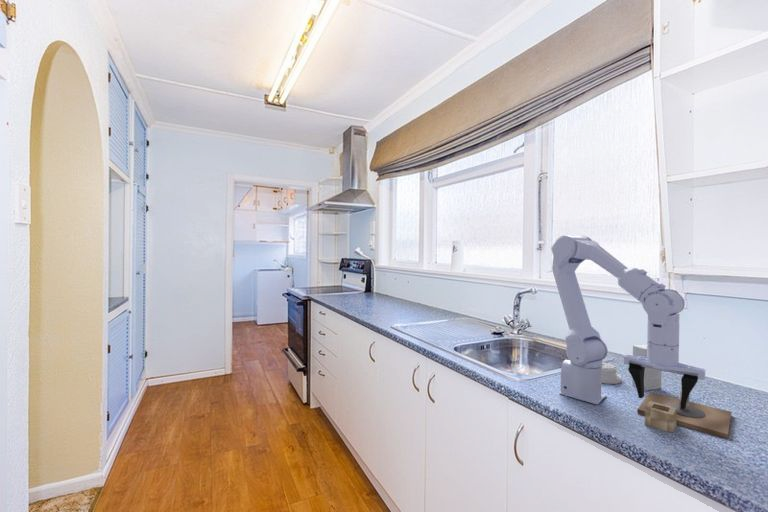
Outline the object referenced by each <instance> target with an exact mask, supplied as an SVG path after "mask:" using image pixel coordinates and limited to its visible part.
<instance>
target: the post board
mask: <svg viewBox="0 0 768 512" xmlns="http://www.w3.org/2000/svg"><path fill="white" fill-rule="evenodd" d="M681 397H682V390H680V391H679V398H677V397H673V396H668V395H665V394H660V393H655V392H652V391H649V393H648V394H647V395H646V397H645V399H644V400H643V401H642V402H641V404H640V405H639V406H638V408H637V414H639V415H642V416H645V407H646V406H647V404H648V403H649V401H652V402H656V403H660V404H664V405H667V406H671V407H675V408H677V414H676V426H677V425H678V426H681V427H685V428H687V429H688V428H689V429H692V430H695V431H698V432H702V433H705V434H706V433H707V434H709V435H712V436H716V437H720V438H724V439H726V440H727V439H728V438H729V431H730V426H731V420H732V411H729V410H725V409H721V408H718V407H714V406H710V405H704V404H702V403H697V402H693V401H690V395H689V396H688V399H687V403H686V408H685V409H681Z"/></svg>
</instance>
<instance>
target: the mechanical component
mask: <svg viewBox="0 0 768 512" xmlns="http://www.w3.org/2000/svg"><path fill="white" fill-rule="evenodd" d="M617 368H618V367H617V366H615V365H614V364H612V363H609V362H603V361H602V380H601V384H607V385H615V384H616V385H617V384H620V383H621V382H622V376H621V375H620V374H618V372H617V371H618V370H617Z"/></svg>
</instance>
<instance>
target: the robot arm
mask: <svg viewBox="0 0 768 512" xmlns="http://www.w3.org/2000/svg"><path fill="white" fill-rule="evenodd" d="M551 252H552V255H553V257H552V266H551V268H552V269H551V270H552V273H553V277H554V280H555V283H556V287H557V291H558V294H559V297H560V301H561V304H562V309H563V311H564V315H565V319H566V322H567V325H568V329H569V331H568V332H567V334H566V336H565V338H564V339H565V342H566V344H565V345H566V347H565V354H566V356H567V359H565V360H563V361H562V363H561V368H560V391H559V394H560V395H562V396H566V397H570V398H571V399H572V398H573V399H576V400H579V401H583V402H587V403H591V404H593V405H599V404H600V403H601V402H602V401H603V400H604V399H606V397H607V394H606V393H602V383H601V380H602V362H603V360H605V358H607V356H608V347H607V345H606V343H605V342H604V341H603V339H602V338H601V335H600V332H599V331H597V329H595V328H594V327H593V326H592V323H591V320H590V318H589V315H588V311H587V307H586V304H585V302H584V298H583V295H582V294H583V293H582V290H581V287H580V285H579V280H578V278H577V276H576V275H577V274H576V271H577V269H578V268H579V266H580V264H582V263H583V262H584V261H586V260H588V261H591V262H593V263H595V264H596V265H598V266H599V267H600V268H602V269H603V270H605V271H606V272H608V273H609V274H611V275H612V276H614V277H615V278H617V283H618V286H619V287H620V288H621V289H623V291H625V292H626V293H627V294H629V295H631V296H632V297H633V298H634V299H636V300H637V301H638V302H639V303H641V305H642V308H643V309H644V312H645V313H646V314H647V335H646V337H647V340H646V344H647V357H641V356H633V354H631V355H630V354H625V355H624V356H623V365H628V367H627V370H628V372H629V374H630V375H631V378H632V381H633V380H634V382H635V385H636V390H637V391H636V392H637V395H638V396H637V397H638V398H639V399H643V398H644V397H645V390H644V371H645V367H646V368H651V369H656V370H661V372H667V373H672V374H676V375H682V377H681V379H680V381H681V382H680V383H681V391H682V397H681V409H685V408H686V403H687V399H688V396H689V397H690V394H691V392H692V391H693V389H694V387H696V384H698V381H699V380H700V381H701V380H702V381H705V379H706V368H701V367H696V366H693V365H689V364H685V363H681V362H679V359H680V357H679V356H680V313H681V312H683V310H684V309H685V305H686V304H685V299H684V297H683V296H682V295H681V294H680V293H679V292H678V291H677V290H676V289H670V288H666V287H667V286H666V285H665V284H664V283H658V282H657V281H656V280H655V279H653V278H651V277H650V276H649V275H648V272H647V271H646V270H644V269H643V268H642V269H639V268H636V267H633V268H629V267H627V266H626V265H625V264H624V263H622V262H621V261H620V260H618V259H617V258H616V257H615V256H614V255H612V254H611V253H610V252H609V251H607V250H606V249H605V248H603V247H602V246H601V245H600V243H598V241H596V240H592V239H591V238H590V237H589V236H585V235H581V236H578V235H577V236H573V235H561V236H559V237H558V238H556V240H555V242H554V243H553V245H551Z"/></svg>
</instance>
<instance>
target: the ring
mask: <svg viewBox="0 0 768 512" xmlns="http://www.w3.org/2000/svg"><path fill="white" fill-rule="evenodd" d="M676 414H677V408H675V407H671V406H667V405H664V404H660V403H656V402H652V401H649V403H648V404H647V406H646V407H645V415H644V425H645V426H648V427H652V428H655V429H659V430H661V431H665V432H669V433H672V434H673V433H674V431H675V429H676V426H677V424H676Z"/></svg>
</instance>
